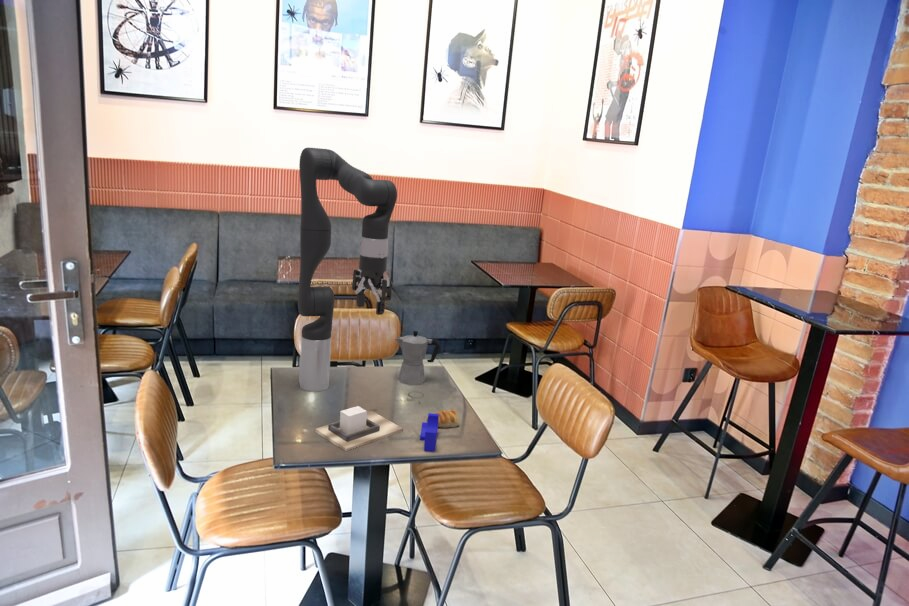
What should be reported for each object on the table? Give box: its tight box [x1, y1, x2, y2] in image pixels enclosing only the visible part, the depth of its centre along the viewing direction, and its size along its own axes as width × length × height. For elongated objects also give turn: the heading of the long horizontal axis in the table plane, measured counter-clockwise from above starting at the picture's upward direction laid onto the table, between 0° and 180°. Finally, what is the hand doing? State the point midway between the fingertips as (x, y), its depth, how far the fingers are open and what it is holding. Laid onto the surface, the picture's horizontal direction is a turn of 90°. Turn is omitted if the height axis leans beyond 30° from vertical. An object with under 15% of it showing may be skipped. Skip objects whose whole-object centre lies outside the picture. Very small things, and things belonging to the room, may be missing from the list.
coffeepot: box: [395, 330, 441, 386], centre depth 213 cm, size 15×9×18 cm, turn 87°
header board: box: [314, 410, 404, 452], centre depth 175 cm, size 14×20×2 cm
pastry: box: [426, 409, 460, 429], centre depth 184 cm, size 9×7×4 cm
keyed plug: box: [339, 405, 368, 435], centre depth 173 cm, size 4×7×6 cm, turn 135°
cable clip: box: [419, 412, 439, 453], centre depth 173 cm, size 12×4×6 cm, turn 178°
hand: (370, 310), depth 175 cm, fingers open, 8 cm apart
